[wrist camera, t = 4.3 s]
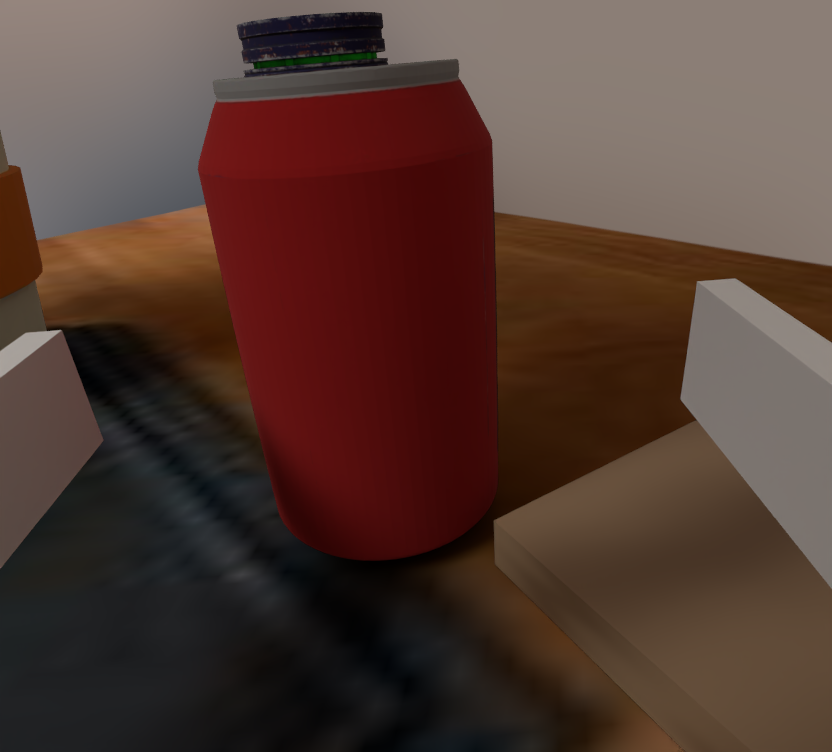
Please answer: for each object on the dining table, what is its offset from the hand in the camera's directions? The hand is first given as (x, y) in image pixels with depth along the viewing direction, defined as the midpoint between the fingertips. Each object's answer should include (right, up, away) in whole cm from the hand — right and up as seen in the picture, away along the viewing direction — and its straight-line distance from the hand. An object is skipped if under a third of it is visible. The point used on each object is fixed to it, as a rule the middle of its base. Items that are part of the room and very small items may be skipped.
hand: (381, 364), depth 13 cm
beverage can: (0, -4, +6) cm, 7 cm away
